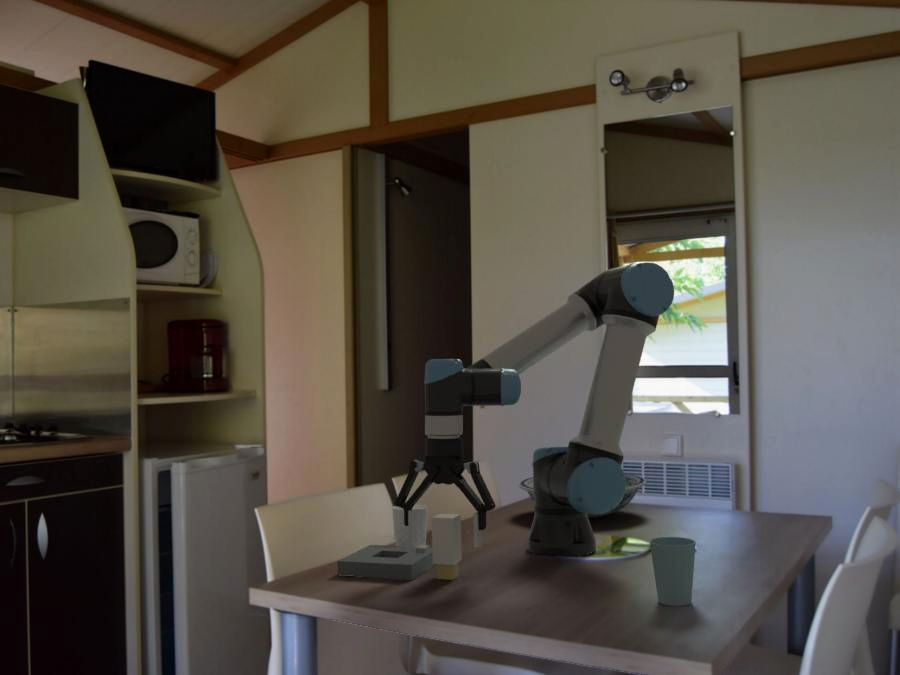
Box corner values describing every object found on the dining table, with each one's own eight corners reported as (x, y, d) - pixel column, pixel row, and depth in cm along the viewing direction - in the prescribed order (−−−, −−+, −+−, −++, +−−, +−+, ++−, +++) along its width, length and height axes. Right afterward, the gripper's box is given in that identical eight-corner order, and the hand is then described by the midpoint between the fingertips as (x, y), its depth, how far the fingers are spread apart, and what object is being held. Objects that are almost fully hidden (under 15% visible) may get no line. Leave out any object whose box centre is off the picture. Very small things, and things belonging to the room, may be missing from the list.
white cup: (423, 555, 190) (422, 510, 190) (389, 554, 191) (388, 509, 191) (431, 548, 197) (430, 504, 198) (398, 547, 199) (397, 504, 199)
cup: (642, 601, 148) (640, 541, 148) (668, 593, 153) (667, 534, 153) (679, 610, 142) (678, 547, 143) (706, 602, 147) (704, 540, 148)
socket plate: (439, 562, 182) (438, 544, 183) (412, 580, 167) (411, 560, 167) (370, 558, 188) (369, 541, 188) (337, 576, 172) (337, 557, 173)
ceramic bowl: (493, 517, 235) (492, 481, 235) (573, 502, 258) (572, 468, 258) (594, 533, 210) (592, 492, 210) (672, 514, 233) (671, 477, 233)
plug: (462, 575, 171) (460, 514, 171) (454, 580, 166) (453, 518, 167) (440, 573, 172) (439, 513, 172) (433, 579, 168) (431, 517, 168)
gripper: (509, 436, 170) (511, 544, 169) (393, 434, 178) (393, 537, 177) (499, 439, 163) (500, 552, 162) (378, 437, 171) (379, 544, 170)
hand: (444, 544), depth 169 cm, fingers open, 13 cm apart
